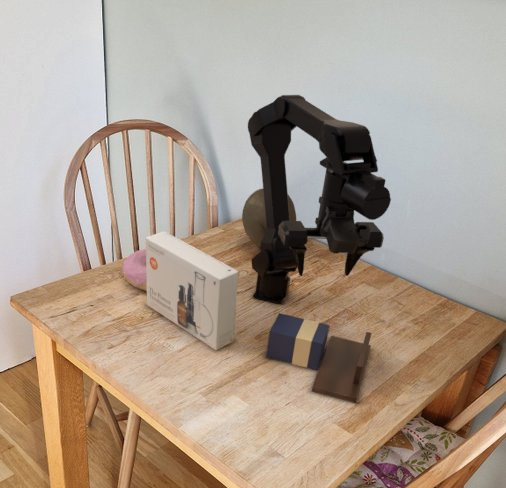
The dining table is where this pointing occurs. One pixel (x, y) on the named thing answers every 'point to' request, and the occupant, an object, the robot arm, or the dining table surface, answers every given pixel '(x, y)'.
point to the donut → (136, 269)
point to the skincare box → (191, 289)
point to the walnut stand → (342, 368)
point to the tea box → (297, 341)
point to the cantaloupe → (259, 216)
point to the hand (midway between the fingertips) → (323, 274)
